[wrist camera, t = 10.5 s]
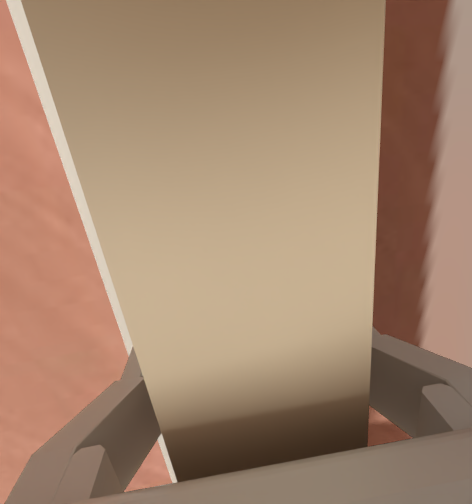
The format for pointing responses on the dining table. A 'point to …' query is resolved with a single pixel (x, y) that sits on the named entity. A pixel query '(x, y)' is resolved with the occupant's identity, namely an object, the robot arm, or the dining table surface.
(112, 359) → the dining table surface
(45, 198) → the dining table surface
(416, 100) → the dining table surface
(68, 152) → the slot board
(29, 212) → the dining table surface
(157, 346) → the wooden block
